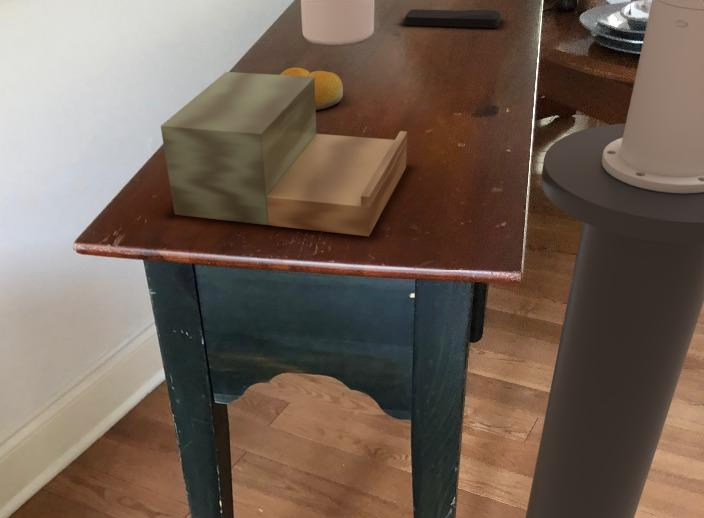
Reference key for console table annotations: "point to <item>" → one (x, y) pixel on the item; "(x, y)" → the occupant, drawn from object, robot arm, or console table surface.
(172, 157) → the green block on base
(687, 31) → the robot arm
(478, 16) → the remote control
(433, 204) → the console table surface
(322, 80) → the bread roll
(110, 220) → the console table surface
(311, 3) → the can
